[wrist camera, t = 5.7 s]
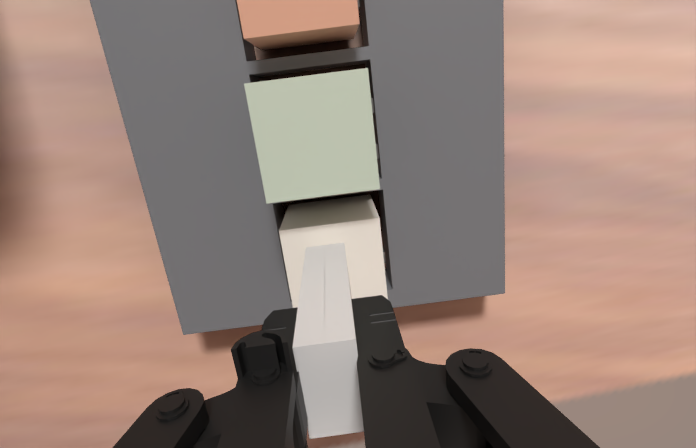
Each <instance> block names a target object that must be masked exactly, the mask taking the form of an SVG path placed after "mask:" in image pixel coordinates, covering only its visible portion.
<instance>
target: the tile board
mask: <svg viewBox="0 0 696 448" xmlns="http://www.w3.org/2000/svg"><path fill="white" fill-rule="evenodd" d="M90 3H91V7H92V10H93V14H94V17H95V21H96V25H97V28H98V32H99V35H100V39H101V42H102V46H103V50H104V53H105V57H106V60H107V64H108V67H109V71H110V74H111V78H112V82H113V85H114V89H115V92H116V96H117V99H118V103H119V107H120V110H121V114H122V117H123V121H124V124H125V128H126V132H127V135H128V139H129V142H130V146H131V149H132V153H133V157H134V160H135V164H136V167H137V171H138V174H139V178H140V181H141V185H142V189H143V192H144V196H145V199H146V203H147V206H148V210H149V214H150V217H151V221H152V224H153V228H154V231H155V235H156V239H157V242H158V246H159V249H160V253H161V256H162V260H163V264H164V267H165V271H166V274H167V278H168V281H169V285H170V288H171V292H172V296H173V299H174V303H175V306H176V310H177V313H178V317H179V321H180V324H181V328H182V331H183V335H186V334H194V333H201V332H209V331H217V330H225V329H232V328H240V327H248V326H256V325H263V323H264V320H265V319H266V318H267V317H268V316H269V314H270V313H271V312H272V311H274V310H282V309H289V308H293V306H292V300H291V295H290V289H289V284H288V278H287V273H286V267H285V262H284V256H283V251H282V245H281V240H280V234H279V229H280V227H281V224H282V221H283V219H284V215H283V210H282V204H281V203H283V202H291V201H299V200H307V199H314V198H307V199H299V200H291V201H283V202H276V203H268V204H266V198H265V193H264V188H263V182H262V177H261V172H260V166H259V161H258V156H257V150H256V145H255V140H254V135H253V129H252V124H251V119H250V113H249V108H248V103H247V97H246V92H245V87H244V84H245V83H253V82H260V80H259V77H264V76H271V75H279V74H287V73H295V72H303V71H311V70H318V69H326V68H334V67H342V66H350V65H358V64H365V65H366V68H368V73H369V83H370V93H371V98H373V104H374V113H373V123H374V133H375V143H376V144H377V145H378V155H379V159H377V163H378V173H379V183H380V189H377V190H378V193H379V203H380V213H381V223H382V233H383V243H384V251H385V260H386V269H385V276H386V286H387V296H388V300H389V301H390V302H391V304H392V308H395V307H403V306H411V305H419V304H426V303H434V302H442V301H450V300H458V299H465V298H473V297H481V296H489V295H496V294H504V293H505V214H504V32H503V0H359V3H360V16H361V26H362V36H363V45H364V47H358V48H350V49H342V50H334V51H326V52H318V53H311V54H303V55H295V56H287V57H279V58H271V59H263V60H256V57H255V51H254V46H253V44H251V43H250V42H248V41H247V40H245V39H244V37H243V32H242V26H241V21H240V15H239V10H238V4H237V0H90ZM377 190H369V191H377ZM369 191H361V192H369ZM361 192H354V193H361ZM346 194H353V193H346ZM346 194H338V195H346ZM338 195H330V196H338ZM330 196H322V197H330ZM322 197H315V198H322Z"/></svg>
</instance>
